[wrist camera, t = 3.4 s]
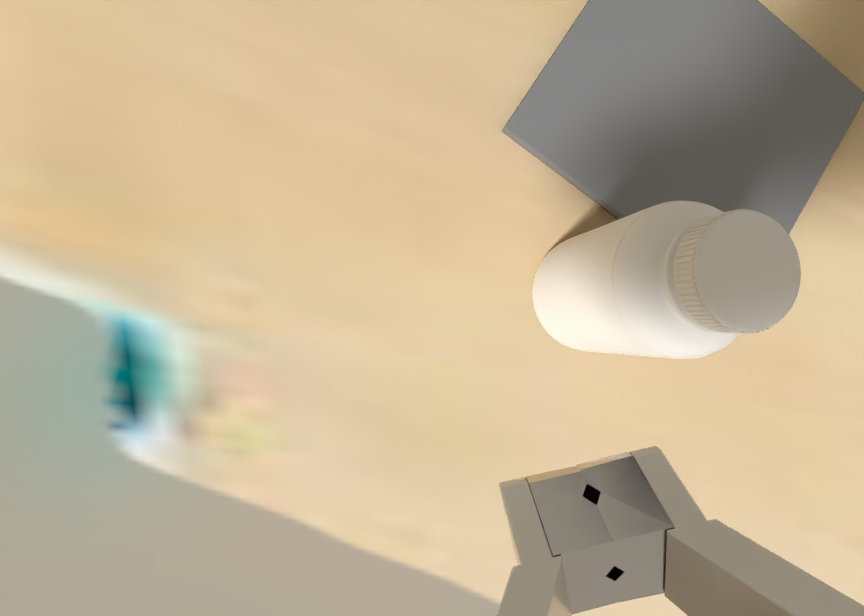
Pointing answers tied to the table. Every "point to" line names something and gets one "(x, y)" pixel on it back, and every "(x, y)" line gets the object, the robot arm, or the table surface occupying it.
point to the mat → (687, 108)
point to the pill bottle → (668, 281)
